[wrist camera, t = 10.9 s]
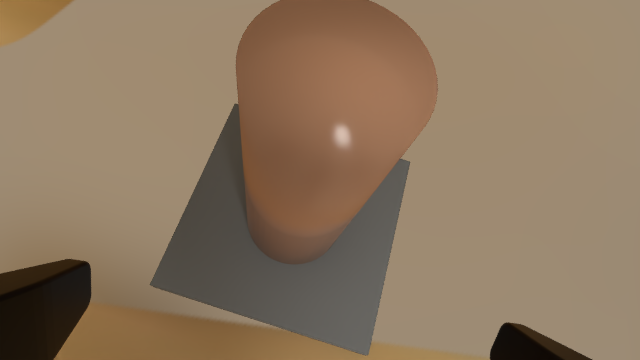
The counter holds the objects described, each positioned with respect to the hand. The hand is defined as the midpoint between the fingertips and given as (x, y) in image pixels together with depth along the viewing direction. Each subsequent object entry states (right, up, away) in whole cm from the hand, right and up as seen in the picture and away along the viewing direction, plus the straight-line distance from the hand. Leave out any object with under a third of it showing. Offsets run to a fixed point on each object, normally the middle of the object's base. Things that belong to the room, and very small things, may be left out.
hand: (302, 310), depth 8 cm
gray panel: (-1, +1, +13) cm, 13 cm away
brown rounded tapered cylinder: (-1, +1, +13) cm, 13 cm away
